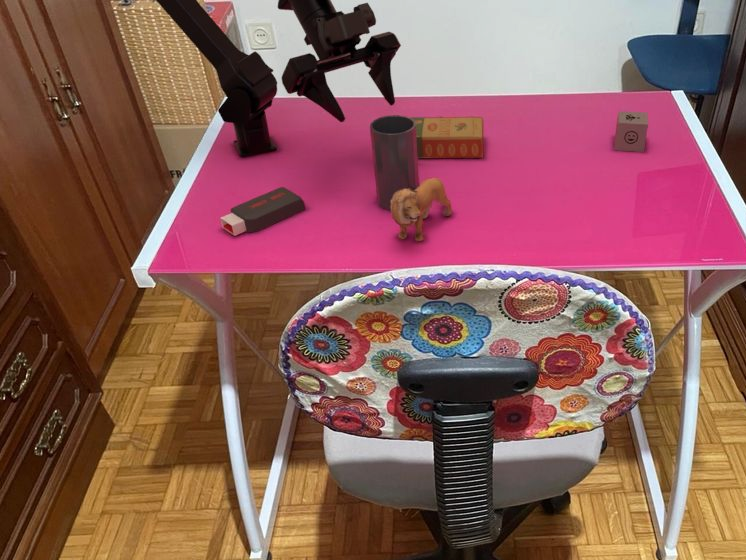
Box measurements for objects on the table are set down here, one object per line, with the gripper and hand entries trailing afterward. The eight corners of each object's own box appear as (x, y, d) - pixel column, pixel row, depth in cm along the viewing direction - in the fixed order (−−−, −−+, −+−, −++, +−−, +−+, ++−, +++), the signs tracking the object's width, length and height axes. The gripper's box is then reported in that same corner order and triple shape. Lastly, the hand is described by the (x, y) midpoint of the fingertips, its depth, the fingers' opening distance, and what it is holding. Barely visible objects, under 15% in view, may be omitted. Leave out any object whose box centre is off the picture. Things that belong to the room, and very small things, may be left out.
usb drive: (305, 209, 112) (302, 193, 110) (238, 239, 106) (234, 223, 104) (286, 198, 115) (282, 182, 113) (219, 226, 109) (215, 210, 107)
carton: (482, 159, 125) (483, 135, 122) (390, 159, 125) (388, 135, 122) (483, 137, 131) (483, 115, 128) (395, 137, 131) (393, 115, 128)
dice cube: (614, 137, 131) (618, 111, 127) (642, 139, 130) (647, 112, 127) (614, 150, 127) (618, 122, 124) (643, 151, 126) (648, 124, 123)
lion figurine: (419, 257, 102) (415, 201, 96) (385, 250, 103) (379, 194, 98) (457, 207, 112) (456, 154, 106) (426, 201, 114) (423, 148, 108)
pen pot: (371, 195, 115) (363, 120, 107) (410, 186, 118) (405, 112, 109) (386, 214, 111) (379, 137, 103) (426, 205, 113) (422, 128, 105)
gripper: (276, -1, 97) (332, 103, 98) (388, -26, 106) (438, 69, 107) (259, 44, 107) (310, 139, 108) (363, 18, 116) (409, 105, 117)
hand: (368, 112), depth 110 cm, fingers open, 9 cm apart
